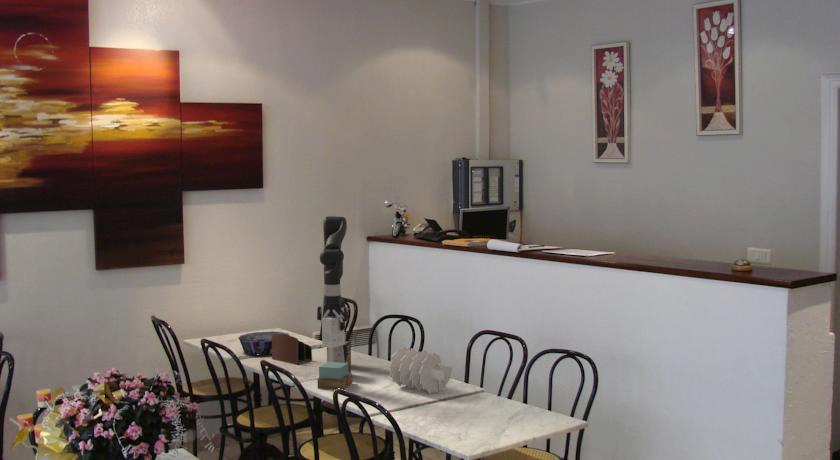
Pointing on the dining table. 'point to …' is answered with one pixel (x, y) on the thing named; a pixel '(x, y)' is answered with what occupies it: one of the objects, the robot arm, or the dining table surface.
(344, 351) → the coffee box
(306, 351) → the letter holder
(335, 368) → the tower top block
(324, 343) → the small box
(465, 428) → the dining table surface
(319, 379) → the tower bottom block
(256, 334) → the decorative bowl
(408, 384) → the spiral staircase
